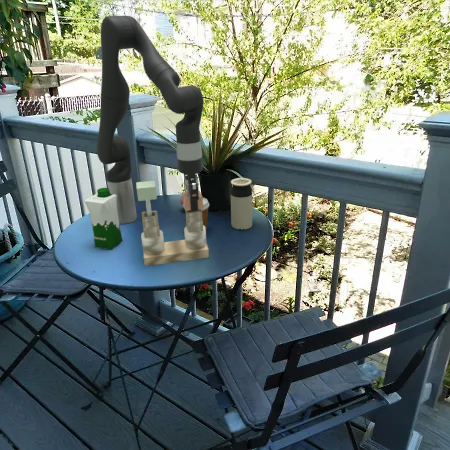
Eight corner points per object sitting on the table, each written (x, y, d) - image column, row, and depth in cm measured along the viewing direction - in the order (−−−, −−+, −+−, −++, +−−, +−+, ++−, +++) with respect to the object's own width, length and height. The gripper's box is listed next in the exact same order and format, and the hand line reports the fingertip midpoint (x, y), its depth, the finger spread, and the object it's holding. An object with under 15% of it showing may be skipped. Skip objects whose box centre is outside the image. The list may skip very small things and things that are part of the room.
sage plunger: (141, 221, 124) (136, 188, 119) (140, 214, 129) (136, 182, 124) (159, 219, 125) (155, 186, 120) (158, 212, 130) (154, 180, 125)
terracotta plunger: (187, 230, 129) (184, 198, 124) (185, 223, 134) (182, 192, 129) (204, 228, 130) (202, 197, 125) (201, 221, 135) (199, 190, 130)
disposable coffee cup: (207, 237, 145) (205, 207, 140) (182, 236, 147) (179, 206, 142) (213, 226, 154) (211, 197, 148) (189, 224, 155) (187, 196, 150)
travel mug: (252, 230, 150) (252, 184, 142) (231, 230, 150) (230, 185, 142) (251, 220, 157) (251, 177, 149) (231, 221, 157) (230, 177, 149)
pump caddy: (144, 266, 129) (138, 221, 122) (144, 252, 137) (138, 209, 130) (209, 257, 133) (206, 213, 126) (204, 244, 141) (201, 202, 134)
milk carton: (126, 239, 146) (118, 188, 137) (111, 251, 138) (102, 198, 129) (106, 236, 149) (96, 186, 140) (90, 248, 141) (79, 195, 132)
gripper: (205, 161, 116) (208, 214, 123) (198, 148, 128) (201, 197, 136) (179, 164, 114) (184, 217, 122) (174, 150, 127) (179, 199, 134)
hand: (193, 206), depth 129 cm, fingers closed on terracotta plunger, 5 cm apart
